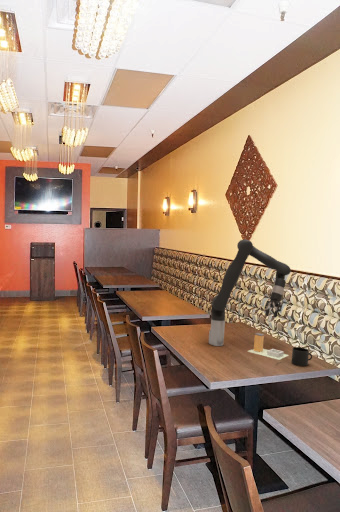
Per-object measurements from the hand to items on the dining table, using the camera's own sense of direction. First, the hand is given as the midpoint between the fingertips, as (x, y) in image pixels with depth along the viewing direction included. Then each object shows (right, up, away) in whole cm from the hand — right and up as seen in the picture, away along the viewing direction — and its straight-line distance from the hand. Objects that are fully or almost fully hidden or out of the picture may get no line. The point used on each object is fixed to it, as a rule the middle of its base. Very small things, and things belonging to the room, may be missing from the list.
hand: (270, 316), depth 280 cm
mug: (+13, -25, -25) cm, 38 cm away
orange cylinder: (-10, -21, -7) cm, 24 cm away
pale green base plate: (-5, -23, -11) cm, 26 cm away
